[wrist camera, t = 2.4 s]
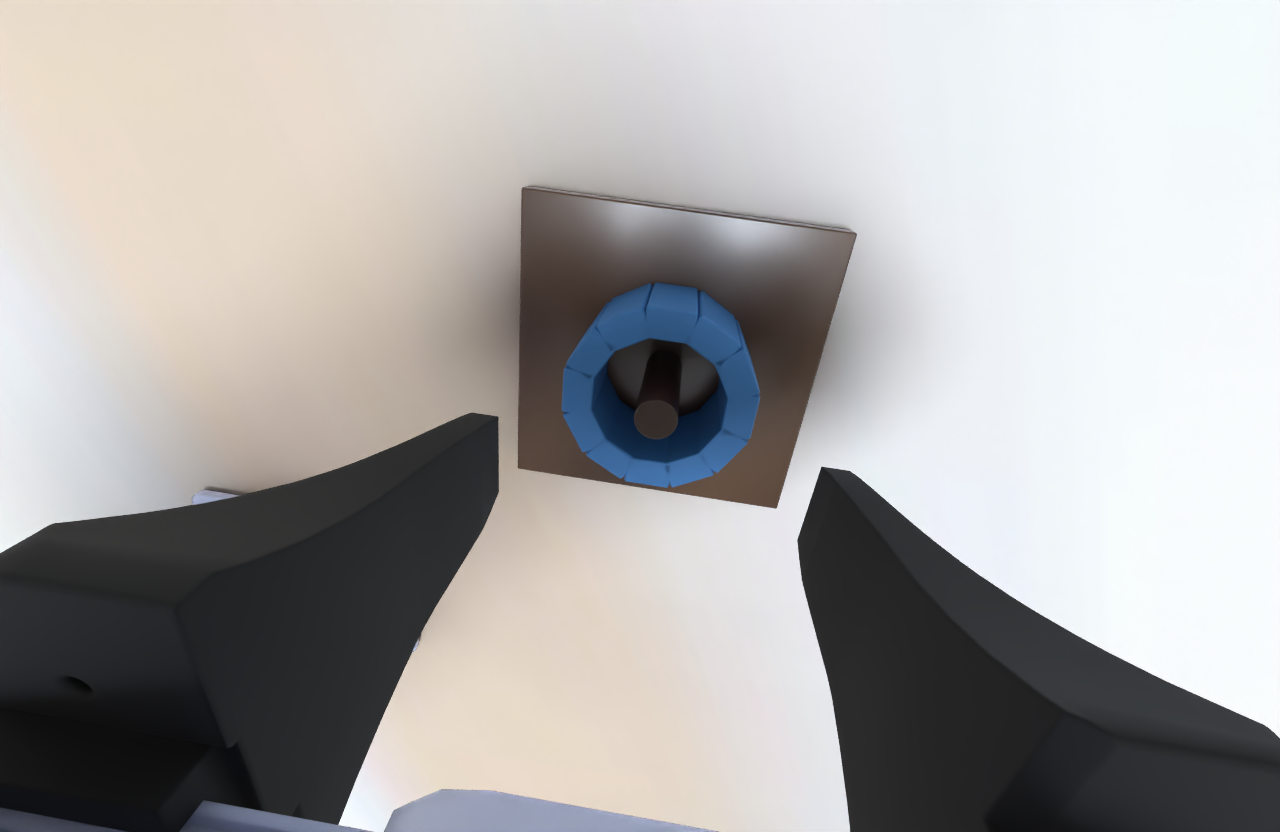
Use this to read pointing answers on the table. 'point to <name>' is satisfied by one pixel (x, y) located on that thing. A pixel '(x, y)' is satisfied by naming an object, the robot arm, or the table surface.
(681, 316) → the tape
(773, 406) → the brown square board
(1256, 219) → the table surface
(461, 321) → the table surface
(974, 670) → the robot arm
